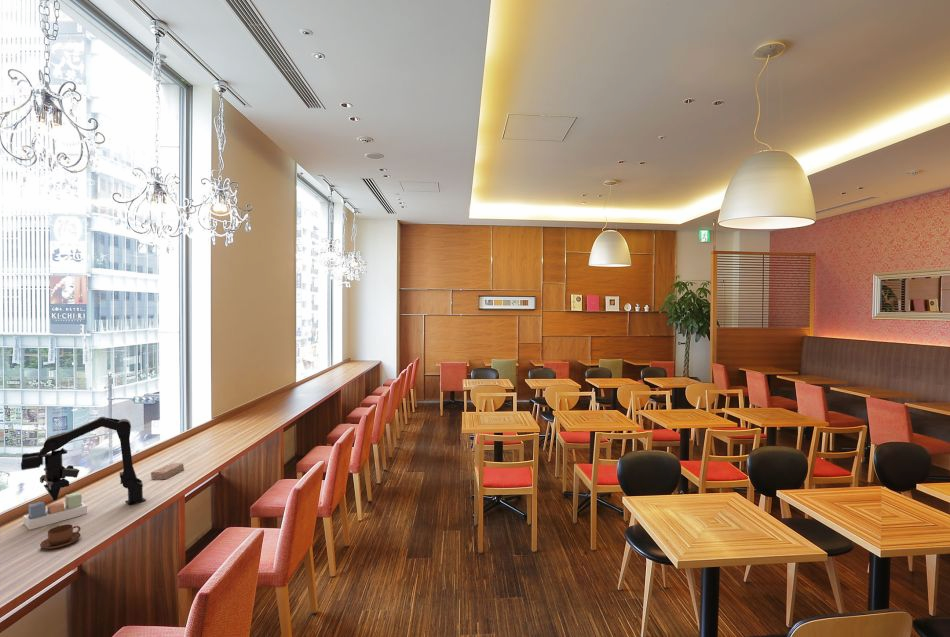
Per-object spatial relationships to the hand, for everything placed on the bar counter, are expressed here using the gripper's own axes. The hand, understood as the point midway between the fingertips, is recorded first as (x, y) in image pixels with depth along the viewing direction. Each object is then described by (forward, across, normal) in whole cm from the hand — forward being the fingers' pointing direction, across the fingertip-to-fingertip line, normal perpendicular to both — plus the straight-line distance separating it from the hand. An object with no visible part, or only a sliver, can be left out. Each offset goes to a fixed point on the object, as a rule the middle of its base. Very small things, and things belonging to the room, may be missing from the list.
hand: (55, 500), depth 211 cm
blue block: (+6, 0, +6) cm, 8 cm away
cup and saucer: (+9, -32, +6) cm, 34 cm away
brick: (+9, +22, -53) cm, 58 cm away
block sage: (+6, 0, -6) cm, 8 cm away
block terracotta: (+8, 0, 0) cm, 8 cm away
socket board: (+8, 0, 0) cm, 8 cm away
